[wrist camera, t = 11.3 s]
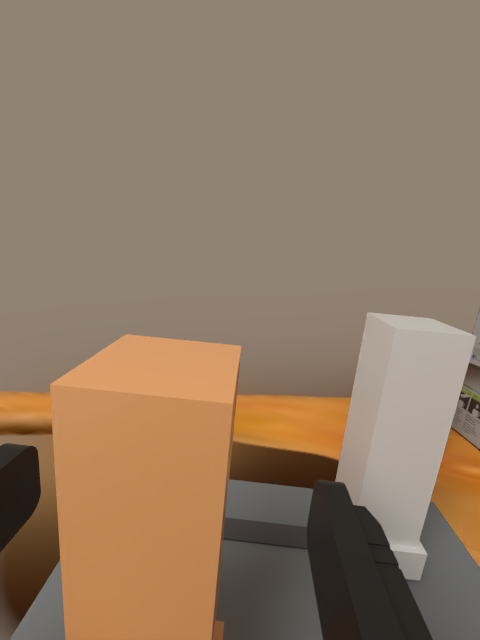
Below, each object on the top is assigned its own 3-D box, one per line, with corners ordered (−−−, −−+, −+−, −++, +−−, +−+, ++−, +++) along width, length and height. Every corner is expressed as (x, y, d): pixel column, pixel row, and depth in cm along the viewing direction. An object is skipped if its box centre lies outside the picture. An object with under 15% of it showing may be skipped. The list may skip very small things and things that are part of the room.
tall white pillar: (386, 513, 17) (434, 317, 15) (419, 580, 14) (490, 339, 11) (323, 506, 17) (359, 310, 15) (340, 571, 14) (391, 329, 11)
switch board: (426, 528, 19) (433, 500, 19) (831, 1190, 6) (896, 1152, 5) (118, 493, 20) (118, 465, 19) (-178, 1020, 6) (-202, 971, 6)
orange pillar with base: (221, 653, 11) (253, 343, 8) (204, 849, 7) (251, 415, 5) (120, 640, 11) (119, 330, 8) (56, 827, 7) (17, 391, 5)
